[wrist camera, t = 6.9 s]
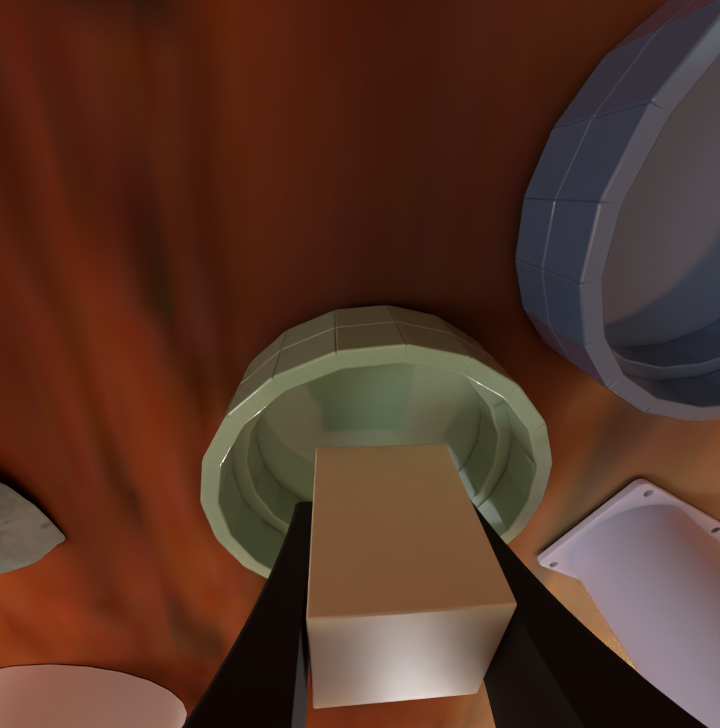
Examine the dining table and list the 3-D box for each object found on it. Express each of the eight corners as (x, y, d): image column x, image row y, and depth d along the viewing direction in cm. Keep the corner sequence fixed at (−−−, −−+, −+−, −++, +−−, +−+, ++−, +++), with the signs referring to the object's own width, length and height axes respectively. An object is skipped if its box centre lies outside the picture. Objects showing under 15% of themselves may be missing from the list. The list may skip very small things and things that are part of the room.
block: (445, 443, 11) (518, 605, 7) (429, 528, 13) (477, 694, 9) (316, 446, 11) (305, 619, 7) (318, 533, 13) (312, 709, 9)
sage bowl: (555, 387, 15) (624, 447, 11) (400, 542, 19) (416, 621, 16) (315, 237, 11) (309, 259, 8) (191, 471, 16) (151, 553, 12)
